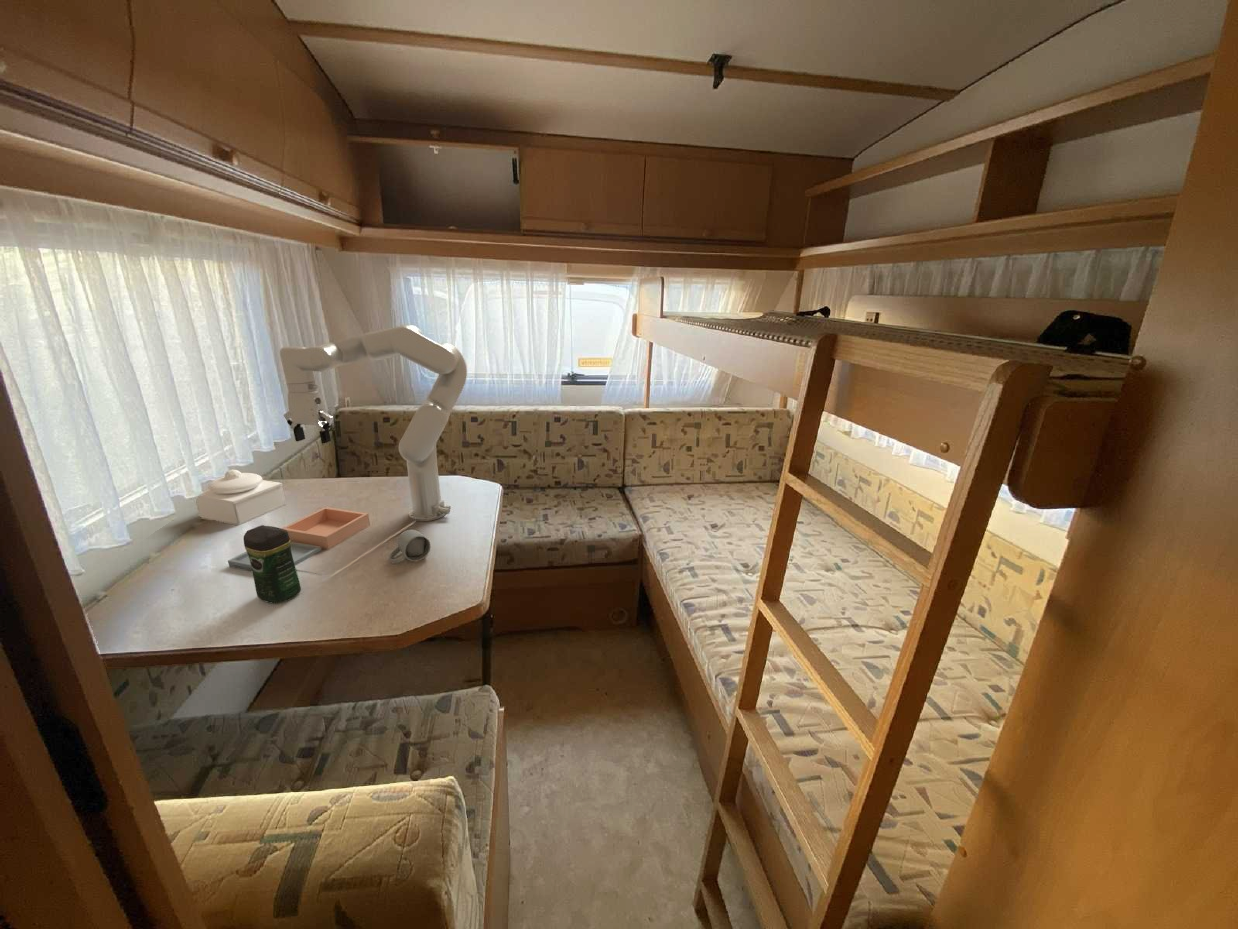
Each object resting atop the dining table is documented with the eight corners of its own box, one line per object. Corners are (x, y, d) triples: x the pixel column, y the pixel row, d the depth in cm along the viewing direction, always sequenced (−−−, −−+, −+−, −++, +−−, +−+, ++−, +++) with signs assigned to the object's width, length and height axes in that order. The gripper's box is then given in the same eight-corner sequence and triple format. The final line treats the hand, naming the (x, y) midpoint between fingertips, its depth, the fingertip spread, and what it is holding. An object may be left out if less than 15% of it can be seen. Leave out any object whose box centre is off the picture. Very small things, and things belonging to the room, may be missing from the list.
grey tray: (322, 552, 148) (321, 546, 148) (280, 577, 136) (279, 570, 135) (274, 544, 153) (272, 538, 152) (229, 567, 140) (227, 560, 139)
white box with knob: (249, 499, 185) (239, 458, 180) (287, 505, 180) (278, 463, 175) (199, 518, 169) (187, 474, 164) (239, 526, 164) (228, 481, 159)
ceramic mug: (421, 546, 153) (418, 523, 151) (432, 556, 148) (429, 533, 145) (385, 558, 147) (381, 534, 144) (395, 569, 141) (391, 545, 138)
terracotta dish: (370, 527, 164) (368, 513, 163) (329, 551, 149) (326, 536, 147) (327, 520, 169) (325, 507, 167) (283, 543, 153) (280, 529, 152)
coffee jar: (307, 591, 130) (293, 526, 124) (277, 608, 123) (261, 540, 117) (282, 582, 133) (267, 519, 127) (251, 598, 126) (234, 532, 120)
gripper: (335, 386, 155) (345, 439, 161) (288, 384, 159) (300, 436, 165) (316, 391, 148) (327, 446, 154) (268, 388, 152) (280, 442, 158)
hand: (313, 441), depth 159 cm, fingers open, 9 cm apart
